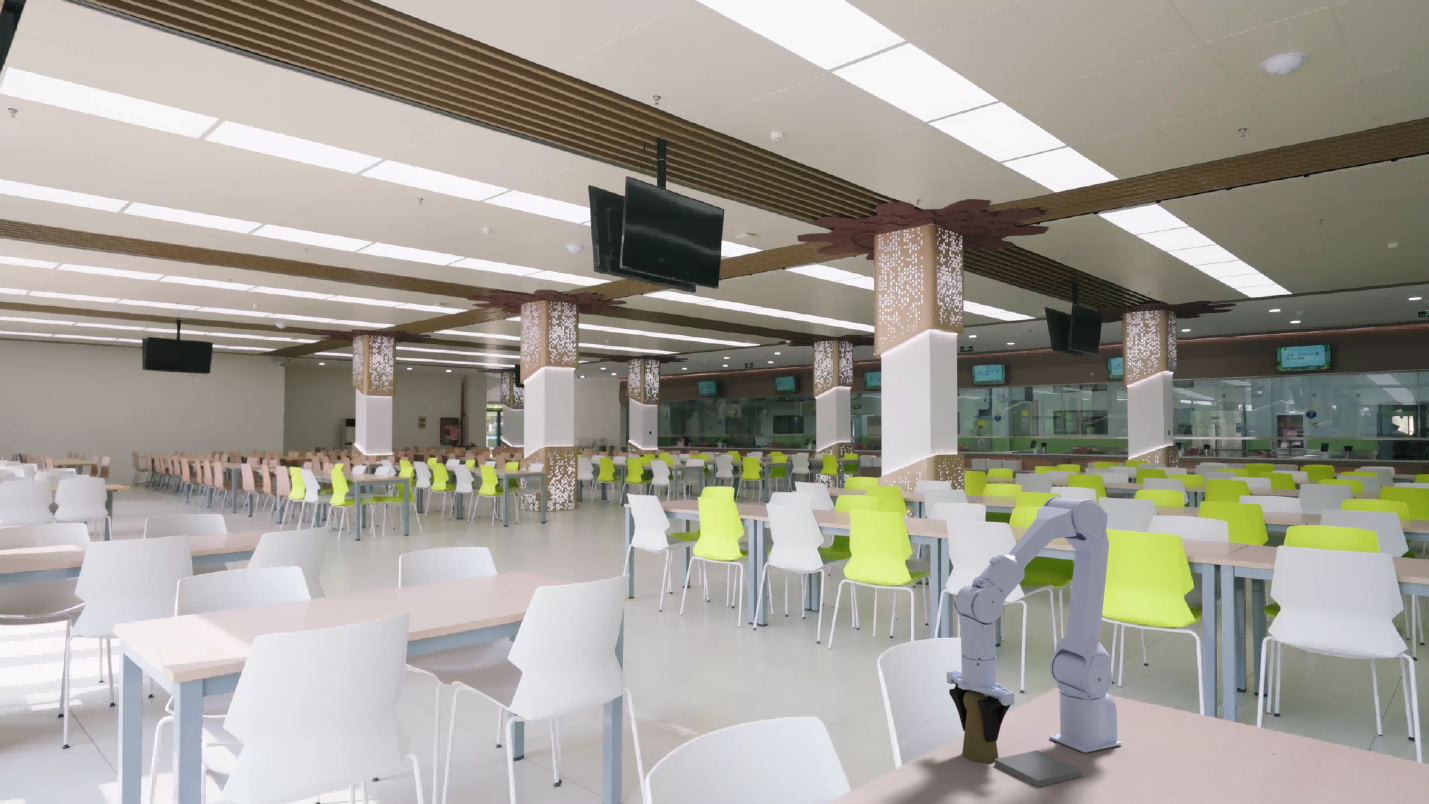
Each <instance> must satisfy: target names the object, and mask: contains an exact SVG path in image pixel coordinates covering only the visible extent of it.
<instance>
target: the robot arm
mask: <svg viewBox="0 0 1429 804" xmlns="http://www.w3.org/2000/svg"><path fill="white" fill-rule="evenodd" d="M1037 509H1038V510H1037V511H1036V518H1035V519H1034V520H1033V522H1032V523H1031V524H1030V526H1029V527H1028V528H1027V530H1026V531H1025V532H1024V534H1023V535H1022V536H1021V537H1020V539H1019V540H1018V541H1017V542H1016V544H1015V545H1014V546H1013V548H1011V550H1010V551H1009V553H1007V554H997V556H996V557H995V556H992V557H991V558H990V559H989V561H988V562H989V563H990V564H988V565H987V567H986V568H984V570H983V571H982V572H980V574H979V576H978V577H976V576H975V578H974V579H973V580H972V583H971V584H969V585H965V586H963V587H961V588H960V589H959V591H958V592H957V594H956V597H955V600H953V601H952V603H953V604H952V605H953V608H954V610H955V611H956V613H957V614H958V617H959V618H958V619H959V624H960V641H961V642H960V647H961V648H960V651H961V652H960V655H961V656H960V657H961V658H960V659H961V672H960V671H956V670H951V671H946V683H948V684H949V685H955V686H954V688H950V689H949V690H948V693H949V694H948V695H950V697H951V699H952V701H953V702H954V705H955V707H956V710H957V713H958V716H959V719H960V723H961V727H962V731H963V732H965V724H966V716H967V709H966V707H965V706H964V700H963V699H964V695H965V693H966V692H967V691H969V690H972V691H976V692H980V693H982V694H983V695H984V696H986V697H987V699H984V700H978V701H977V703H978V705H979V708H980V711H981V714H982V718H983V726H984V737H985V741H986V742H994V741H996V742H997V741H998V739H999V734H1000V730H1001V726H1002V723H1003V721H1004V718H1005V717H1006V714H1007V712H1008V710H1009V709H1010V707H1011V706H1013V705H1015V692H1014V691H1011V690H1009V689H1007V688H1006V687H1004V686H1003V685H1001V684H1000V683H999V682H997V662H996V661H997V656H996V655H997V654H996V620H998V619H999V618H1000V617H1001V616H1002V614H1003V607H1004V606H1003V605H1004V603H1005V602H1006V599H1007V598H1008V597H1009V595H1010V594H1011V593H1012V592H1013V591H1014V590H1015V589H1016V588H1017V586H1019V584H1020V583H1021V582H1022V581H1023V580H1024V579H1025V577H1026V576H1025V575H1026V574H1025V567H1026V566H1028V564H1030V562H1031V561H1033V560H1034V558H1036V557H1037V555H1038V554H1040V552H1041V553H1042V552H1043V550H1044V548H1046V547H1047V546H1048V545H1049V544H1050V543H1051V542H1052V541H1054V540H1055V539H1062V538H1063V539H1065V540H1066V541H1067V542H1068V544H1070V546H1071V547H1072V548H1073V549H1074V551H1075V552H1074V561H1073V571H1072V580H1071V582H1072V583H1071V589H1070V590H1071V591H1070V599H1069V607H1068V609H1069V610H1068V617H1067V626H1066V627H1067V628H1066V629H1067V630H1066V635H1065V636H1064V637H1062V638H1061V639H1060V640H1058V641H1057V642H1056V645H1055V651H1054V654H1053V655H1052V657H1051V659H1050V662H1049V673H1050V675H1051V677H1052V679H1053V680H1054V681H1055V682H1056V688H1057V689H1059V692H1058V693H1059V721H1060V722H1059V723H1060V724H1059V727H1060V728H1059V731H1060V733H1056V734H1055V733H1054V734H1051V735H1049V739H1050V740H1053V741H1055V742H1058V743H1060V744H1062V745H1064V746H1066V747H1070V748H1072V749H1073V750H1074V749H1075V750H1077V751H1078V752H1080V753H1081V752H1082V753H1084V754H1085V753H1091V752H1094V751H1099V750H1105V749H1109V748H1112V747H1118V746H1122V741H1120V740H1118V711H1117V705H1116V702H1115V699H1113V697H1112V696H1111V694H1109V691H1110V690H1111V688H1112V684H1113V672H1112V669H1111V655H1110V654H1109V652H1108V651H1107V650H1106V649H1105V647H1104V646H1103V645H1102V643H1101V642H1100V641H1101V639H1100V638H1101V630H1102V619H1103V611H1104V610H1103V609H1104V601H1105V600H1104V599H1105V590H1106V582H1107V581H1106V579H1107V571H1108V570H1107V569H1108V560H1109V549H1110V541H1109V537H1108V533H1107V523H1108V516H1109V514H1108V513H1107V512H1106V510H1105V509H1104V508H1103V507H1102V505H1101V504H1100V503H1098V502H1097V501H1096V500H1094V499H1085V498H1084V499H1080V498H1079V499H1077V498H1068V497H1062V496H1057V495H1056V496H1052V497H1049V498H1048V499H1046V501H1045V502H1044V504H1043V505H1042V506H1041V507H1039V508H1037Z"/></svg>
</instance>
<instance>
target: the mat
mask: <svg viewBox="0 0 1429 804" xmlns="http://www.w3.org/2000/svg"><path fill="white" fill-rule="evenodd" d="M994 766H996V767H997V768H1000V769H1001V770H1003V769H1004V771H1006V772H1007V773H1010V774H1012V775H1013V776H1016V777H1017V778H1020V779H1021V780H1023V781H1026V782H1027V783H1030V784H1032V785H1033V786H1036V787H1038V788H1040V787H1044V786H1045V787H1046V786H1048V785H1053V784H1057V783H1061V782H1066V781H1069V780H1073V779H1078V778H1082V777H1083V770H1082V769H1080V768H1077V767H1075V766H1073V765H1071V764H1069V763H1067V762H1064V761H1062V760H1059V759H1057V758H1055V757H1053V756H1051V755H1048V754H1046V753H1043V752H1042V751H1039V750H1032V751H1027V752H1023V753H1017V754H1014V755H1013V754H1012V755H1007V756H1004V757H999V758H998V759H995V761H994Z"/></svg>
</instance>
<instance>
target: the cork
mask: <svg viewBox="0 0 1429 804" xmlns="http://www.w3.org/2000/svg"><path fill="white" fill-rule="evenodd" d="M984 699H987V697H986V696H984V695H983V694H982V693H980V692H976V691H972V690H969V691H967V692H966V693H965V695H964V699H963V700H964V706H965V707H966V709H967V716H966V724H965V731H964V735H963V745H962V753H961V755H962V756H963V758H965V759H967V760H969V761H972V762H976V763H981V764H983V763H987V764H988V763H995V759H998V758H1000V757H999V750H998V744H997V741H994V742H986V741H985V737H984V726H983V718H982V714H981V711H980V708H979V705H978V703H977V701H978V700H984Z"/></svg>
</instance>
